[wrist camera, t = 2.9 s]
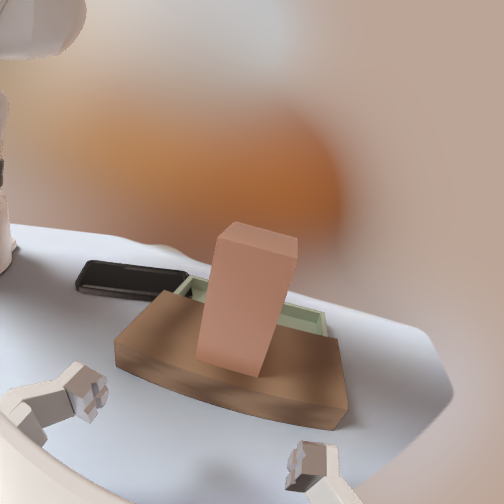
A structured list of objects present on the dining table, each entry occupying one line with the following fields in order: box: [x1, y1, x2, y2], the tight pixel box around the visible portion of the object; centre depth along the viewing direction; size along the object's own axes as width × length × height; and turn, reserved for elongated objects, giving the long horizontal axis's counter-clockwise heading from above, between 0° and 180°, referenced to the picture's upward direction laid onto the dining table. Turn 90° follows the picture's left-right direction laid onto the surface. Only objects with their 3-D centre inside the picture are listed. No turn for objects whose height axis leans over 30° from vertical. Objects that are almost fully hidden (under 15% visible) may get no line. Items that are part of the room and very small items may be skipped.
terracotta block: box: [195, 221, 298, 378], centre depth 21 cm, size 5×5×10 cm
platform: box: [114, 290, 349, 430], centre depth 24 cm, size 19×10×3 cm, turn 81°
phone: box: [75, 260, 193, 302], centre depth 34 cm, size 8×1×15 cm
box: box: [174, 275, 328, 337], centre depth 32 cm, size 18×7×2 cm, turn 81°
